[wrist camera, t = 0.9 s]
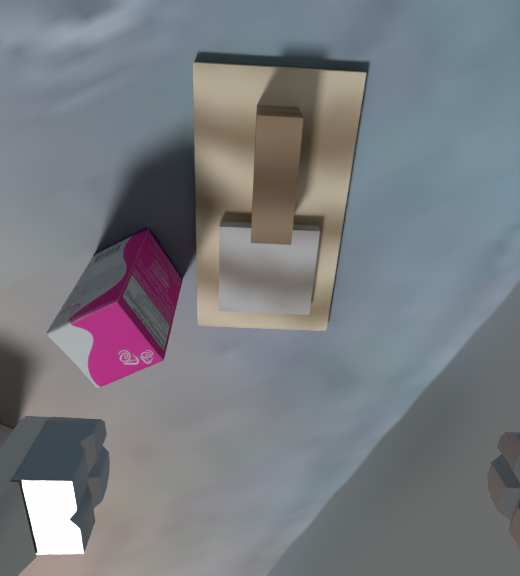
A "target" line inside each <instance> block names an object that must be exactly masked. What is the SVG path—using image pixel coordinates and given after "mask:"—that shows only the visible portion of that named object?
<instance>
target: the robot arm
mask: <svg viewBox="0 0 520 576" xmlns="http://www.w3.org/2000/svg"><path fill="white" fill-rule="evenodd" d="M106 435H107V434H106V427H105V422H104V421H103V420H101V419H83V418H64V417H36V416H26V417H24V418H23V419H21V420H20V421H19V422H18V424H17V425H16V427H15V428H14V430H13V431H12V433H11V434H10V436H9V437H8V439H7V440H6V442H5V443H4V445H3V446H2V448H1V449H0V576H18V575H19V574H20V573H21V572H22V571H23V570H24V569H25V568H26V567H27V566H28V565H29V564H30V563H31V562H32V561H33V560H34V559H35V558H36V554H84V552H85V549H86V546H87V543H88V540H89V537H90V535H91V532H92V529H93V526H94V523H95V516H94V508H95V507H96V506H97V505H98V504H99V503H101V502H102V500H103V497H104V494H105V491H106V488H107V482H108V477H109V464H110V461H109V452H108V451H107V450H106V449H105V448H104V447H103V443H104V441H105V438H106ZM497 447H498V449H499V451H500V453H501V455H500V456H499V457H497V458H496V459H495V460H494V461H492V462H491V465H490V468H489V471H488V475H487V476H488V489H489V493H490V496H491V499H492V501H493V503H494V505H495V506H496V508H497V510H498V511H499V512H500V513H502V514H503V515H504V516H506V517H507V518H508V519H510V520H511V522H510V527H509V532H510V533H511V535H512V537H513V539H514V540H515V542H516V544H517V546H518V548H519V549H520V432H505V433H504V434H503V435H502V436H501V437H500V440H499V442H498V445H497Z"/></svg>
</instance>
